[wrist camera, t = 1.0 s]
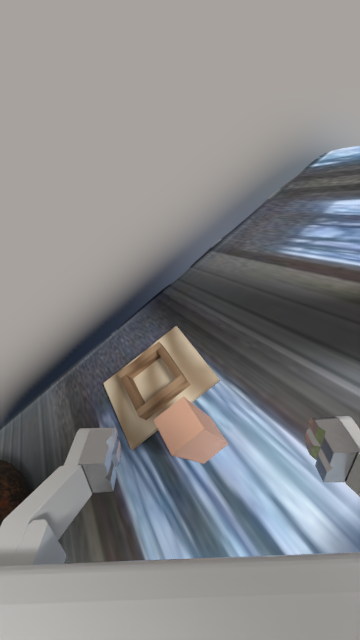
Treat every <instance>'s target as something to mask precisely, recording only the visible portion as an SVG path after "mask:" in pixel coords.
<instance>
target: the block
mask: <svg viewBox="0 0 360 640" xmlns="http://www.w3.org/2000/svg"><path fill="white" fill-rule="evenodd" d="M154 422H155V424H156V426H157V428H158V430H159V432H160V434H161V436H162V438H163V440H164V442H165V443H166V445H167V447H168V449H169V451H170V453H171V455H173V456H177V457H180V458H184V459H188V460H192V461H196V462H200V463H206V462H207V461H208V460H209V459H210V458H212V457H213V456H214V455H215V454H217V453H218V452H219V451H220V450H221V449H223V448H224V447H225V446H226V445H228V442H227V441H226V439H225V438H224V436H223V435H222V434H221V432H220V431H219V429H218V428H217V426H216V425H215V423H214V422H213V420H212V419H211V418H210V417H209V416H208V415H206V414H205V413H204V412H203V411H201V410H200V409H199V408H198V407H196V406H195V405H194V404H192V403H191V402H190V401H189V400H187V399H186V398H185V397H182V398H180V399H179V400H178V401H177V402H175V403H174V404H173V405H172V406H170V407H169V408H168V409H167V410H165V411H164V412H163V413H162V414H160V415H159V416H158V417H157V418H155V419H154Z"/></svg>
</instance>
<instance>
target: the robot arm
mask: <svg viewBox="0 0 360 640" xmlns="http://www.w3.org/2000/svg"><path fill="white" fill-rule="evenodd" d="M308 425H309V427H310V429H308V430H307V431H306V435H305V441H306V446H307V449H308V451H309V453H310V455H311V456H312V457H313V458H315V459H316V460H317V461H316V465H315V466H316V468H317V470H318V472H319V474H320V476H321V478H322V480H323V482H346V484H347V485H348V486H349V487H350V488H351V489H352V490H353V491H354V492H355V493H357V494H358V495H359V496H360V429H359V428H358V426H357V425H356V423H355V422H354V421H353V419H352V418H351V417H349V416H340V417H318V418H311V419H310V420H309V423H308ZM120 453H121V446H120V440H119V439H117V429H116V428H81V429H79V430H78V431H77V433H76V436H75V438H74V441H73V443H72V446H71V448H70V451H69V453H68V456H67V458H66V461H65V464H64V466H60V467H59V468H57V469H56V470H55V471H54V472H53V473H52V474H51V475H50V476H49V477H48V478H47V479H46V480H45V481H44V482H43V483H42V484H41V485H40V486H39V487H38V488H36V489H35V490H34V491H33V492H32V493H31V494H30V495H29V496H28V497H27V498H26V499H25V500H24V501H23V502H22V503H21V504H20V505H19V506H18V507H17V508H15V509H14V510H13V511H12V512H11V513H10V514H9V515H8V516H7V517H6V518H5V519H4V520H3V522H2V524H1V526H0V640H360V552H356V553H329V554H303V555H276V556H250V557H223V558H197V559H171V560H145V561H119V562H92V563H66V564H64V563H65V560H66V553H65V551H64V550H63V548H62V546H61V545H60V543H59V541H58V540H59V538H60V537H61V536H62V534H63V533H64V532H65V530H66V529H67V528H68V526H69V525H70V524H71V522H72V521H73V520H74V518H75V517H76V516H77V514H78V513H79V511H80V510H81V509H82V507H83V506H84V505H85V503H86V502H87V501H88V499H89V498H90V497H91V495H92V493H96V492H110V491H113V490H114V485H115V481H116V476H117V473H116V470H115V468H116V466H117V465H118V464H119V461H120Z"/></svg>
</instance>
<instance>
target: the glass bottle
mask: <svg viewBox="0 0 360 640" xmlns="http://www.w3.org/2000/svg"><path fill="white" fill-rule="evenodd" d="M29 495H30V491H29V487H28V484H27V482H26V480H25V478H24V477H23V475H22V474H21V473H20V471H19V470H18V469H17V468H16V467H14V466H13V465H12V464H10V463H8V462H6V461H3V460H0V526H1V524H2V522H3V520H4V519H5V518H6V517H7V516H8V515H9V514H10V513H11V512H12V511H13V510H14V509H15V508H17V507H18V506H19V505H20V504H21V503H22V502H23V501H24V500H25V499H26V498H27V497H28V496H29Z"/></svg>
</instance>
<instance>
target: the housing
mask: <svg viewBox="0 0 360 640" xmlns="http://www.w3.org/2000/svg"><path fill="white" fill-rule="evenodd" d="M219 381H220V380H219V378H218V377H217V376H216V375H215V373H214V372H213V371H212V370H211V368H210V367H209V366H208V365H207V363H206V362H205V361H204V360H203V358H202V357H201V356H200V355H199V353H198V352H197V351H196V350H195V348H194V347H193V346H192V345H191V343H190V342H189V341H188V340H187V338H186V337H185V336H184V335H183V333H182V332H181V331H180V330H179V328H178V327H177V326H175V327H174V328H173V329H172V330H170V331H169V332H168V333H167V334H165V335H164V336H163V337H161V338H160V339H159V340H158V341H156V342H155V343H154V344H153V345H151V346H150V347H149V348H148V349H146V350H145V351H144V352H142V353H141V354H140V355H139V356H137V357H136V358H135V359H134V360H132V361H131V362H130V363H128V364H127V365H126V366H125V367H123V368H122V369H121V370H120V371H118V372H117V373H116V374H114V375H113V376H112V377H111V378H109V379H108V380H107V381H106V382H104V383H103V384H104V386H105V389H106V391H107V393H108V396H109V398H110V401H111V403H112V405H113V408H114V410H115V412H116V415H117V417H118V420H119V422H120V424H121V427H122V429H123V431H124V434H125V436H126V439H127V441H128V443H129V446H130V448H131V449H132V450H134V449H135V448H136V447H138V446H139V445H140V444H141V443H143V442H144V441H145V440H146V439H148V438H149V437H150V436H151V435H153V434H154V433H155V432H156V431H158V428H157V426H156V424H155V422H154V419H155V418H157V417H158V416H159V415H160V414H162V413H163V412H164V411H165V410H167V409H168V408H169V407H170V406H172V405H173V404H174V403H175V402H177V401H178V400H179V399H180V398H182V397H185V398H186V399H187V400H189V401H190V402H191V403H193V402H194V401H195V400H196V399H198V398H199V397H200V396H201V395H203V394H204V393H205V392H206V391H208V390H209V389H210V388H211V387H213V386H214V385H215V384H216V383H218V382H219Z"/></svg>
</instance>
